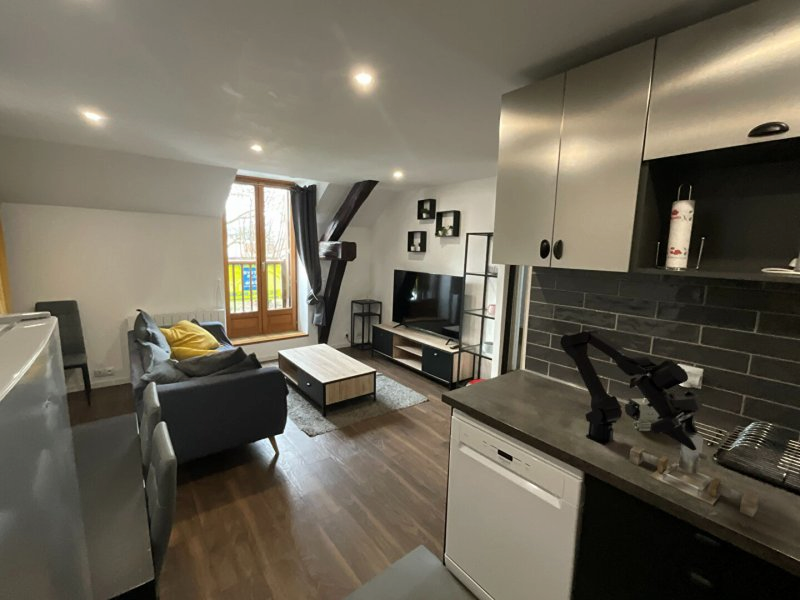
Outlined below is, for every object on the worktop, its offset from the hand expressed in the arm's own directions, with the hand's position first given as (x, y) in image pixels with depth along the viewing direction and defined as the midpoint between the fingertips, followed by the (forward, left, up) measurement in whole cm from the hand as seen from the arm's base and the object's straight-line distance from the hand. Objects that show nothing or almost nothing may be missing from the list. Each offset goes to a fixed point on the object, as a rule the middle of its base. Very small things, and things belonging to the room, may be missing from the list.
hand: (697, 447), depth 98 cm
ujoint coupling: (-1, 0, -7) cm, 7 cm away
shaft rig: (-1, 0, -12) cm, 12 cm away
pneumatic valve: (-21, +23, -12) cm, 34 cm away
